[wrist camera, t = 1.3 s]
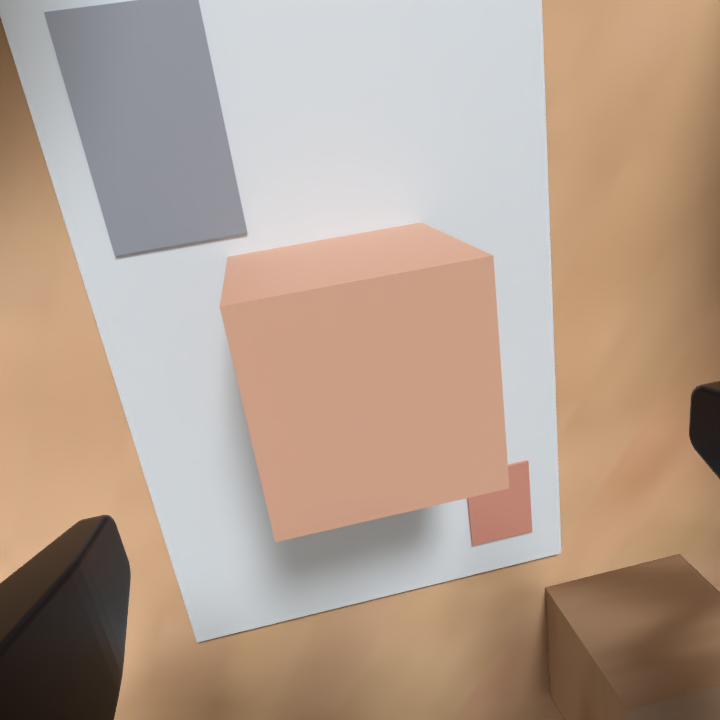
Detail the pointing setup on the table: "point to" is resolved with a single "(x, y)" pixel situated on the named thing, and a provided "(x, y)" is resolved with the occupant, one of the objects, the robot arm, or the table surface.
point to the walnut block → (636, 644)
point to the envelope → (289, 227)
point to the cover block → (368, 374)
